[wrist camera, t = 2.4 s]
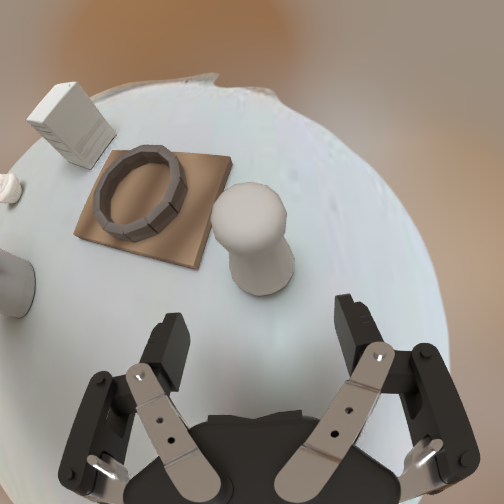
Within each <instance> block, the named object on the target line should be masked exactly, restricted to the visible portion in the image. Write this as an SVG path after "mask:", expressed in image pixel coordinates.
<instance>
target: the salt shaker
mask: <svg viewBox="0 0 504 504" xmlns="http://www.w3.org/2000/svg"><path fill="white" fill-rule="evenodd" d="M286 218H287V212H286V210H285V207H284V205H283V203H282V201H281V199H280V197H279V195H278V194H277V193H276V192H274V191H273V190H272V189H271V188H269V187H268V186H267V185H263V184H259V183H254V182H247V183H240V184H235V185H234V186H232V187H230V188H229V189H227V190H225V191H224V192H222V194H221V195H220V196H219V198H218V199H217V200H216V202H215V203H214V204H213V208H212V214H211V219H210V220H211V225H212V228H213V231H214V235H215V238H216V240H217V241H218V242H219V243H220V244H221V245H222V246H223V247H224V248H225V249H226V250H227V251H228V252H229V268H230V271H231V274H232V278H233V281H234V282H235V283H236V284H237V285H238V286H239V287H240V288H241V289H243V290H244V291H246V292H248V293H251V294H254V295H257V296H261V295H267V294H273V293H275V292H276V291H278V290H280V289H281V288H283V287H284V286H286V284H287V283H288V281H289V279H290V277H291V276H292V274H293V270H294V256H293V254H292V251H291V249H290V247H289V245H288V243H287V241H286V240H285V238H284V236H283V235H284V234H285V229H286Z"/></svg>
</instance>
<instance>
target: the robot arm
mask: <svg viewBox="0 0 504 504" xmlns="http://www.w3.org/2000/svg"><path fill="white" fill-rule="evenodd" d="M34 289H35V277H34V271H33V268H32V266H31V264H30V263H29V262H28V261H26V260H24V259H21V258H19V257H17V256H15V255H12V254H10V253H8V252H6V251H4V250H2V249H0V314H3V315H7V316H12V317H16V318H21V317H23V316H24V315H25V314H26V313H27V312H28V310H29V308H30V306H31V303H32V300H33V296H34ZM334 324H335V330H336V333H337V336H338V339H339V342H340V346H341V349H342V352H343V355H344V359H345V362H346V366H347V369H348V372H349V376H350V379H349V380H346V381H345V383H344V384H343V386H342V387H341V389H340V391H339V392H338V394H337V396H336V397H335V399H334V401H333V402H332V404H331V405H330V407H329V408H328V410H327V411H326V413H325V415H324V416H323V418H322V419H321V420H319V419H317V418H314V417H309V416H302V410H295V411H287V412H278V413H274V414H271V415H268V416H264V417H261V418H257V419H249V418H243V417H238V416H233V415H208V421H206V422H203V423H200V424H198V425H195V426H193V427H192V428H189V426H188V425H187V423H186V422H185V420H184V419H183V417H182V416H181V414H180V413H179V411H178V410H177V408H176V406H175V405H174V403H173V401H172V400H171V398H170V397H169V396H170V392H171V391H172V392H178V391H179V387H180V383H181V379H182V374H183V370H184V366H185V362H186V358H187V354H188V350H189V346H190V334H189V331H188V329H187V326H186V324H185V321H184V319H183V316H182V314H181V313H167V314H166V315H165V318H164V320H163V322H162V323H158V324H157V325H156V327H155V328H154V329H153V330H152V332H151V335H150V338H149V340H148V344H147V345H146V347H145V349H144V352H143V354H142V357H141V359H140V362H139V363H138V364H135V365H133V366H132V367H130V368H129V370H128V371H127V373H126V374H125V375H121V376H116V377H112V375H111V374H110V373H109V372H107V371H100V372H98V373H96V374H95V375H93V377H92V378H91V380H90V382H89V384H88V387H87V389H86V392H85V394H84V397H83V399H82V402H81V404H80V407H79V410H78V412H77V415H76V418H75V420H74V423H73V426H72V429H71V432H70V435H69V438H68V441H67V444H66V447H65V450H64V454H63V457H62V460H61V464H60V467H59V471H58V478H59V481H60V483H61V484H62V485H63V486H64V487H65V488H67V489H69V490H71V491H73V492H75V493H76V494H78V495H80V496H82V497H84V498H86V499H88V500H90V501H93V502H97V503H99V504H399V503H401V502H404V501H407V500H410V499H413V498H416V497H419V496H421V495H424V494H429V495H434V494H437V493H440V492H442V491H443V490H445V489H447V488H449V487H451V486H453V485H455V484H456V483H458V482H460V481H461V480H463V479H465V478H466V477H468V476H470V475H471V474H472V473H474V472H475V470H476V469H477V467H478V466H479V462H480V453H479V449H478V446H477V443H476V440H475V437H474V434H473V431H472V428H471V425H470V422H469V420H468V417H467V414H466V412H465V409H464V407H463V404H462V402H461V399H460V397H459V394H458V392H457V390H456V387H455V385H454V383H453V381H452V378H451V376H450V374H449V372H448V370H447V367H446V365H445V363H444V361H443V359H442V357H441V355H440V353H439V351H438V349H437V348H436V347H435V346H433V345H432V344H429V343H420V344H418V345H416V346H415V347H414V348H413V350H412V351H397V350H394V349H393V347H392V346H391V345H389V344H387V343H385V342H384V341H383V338H382V336H381V334H380V332H379V330H378V328H377V326H376V324H375V322H374V320H373V317H372V316H371V313H370V311H369V309H368V307H367V306H365V305H364V304H363V303H362V302H355V303H354V301H353V299H352V297H351V295H350V294H343V295H337V296H335V309H334ZM381 393H387V394H399V396H400V399H401V403H402V406H403V410H404V413H405V417H406V420H407V424H408V428H409V432H410V436H411V440H412V444H413V448H412V450H411V451H410V452H409V453H408V454H407V455H406V457H405V460H404V470H403V473H402V475H401V476H400V477H397V476H396V475H395V474H394V473H393V472H392V471H391V470H389V469H388V468H386V467H385V466H383V465H382V464H380V463H379V462H378V461H376V460H375V459H373V458H372V457H371V456H369V455H368V454H366V453H365V452H364V451H362V450H361V449H360V448H358V447H357V446H355V444H356V443H357V441H358V439H359V437H360V436H361V434H362V432H363V430H364V428H365V426H366V424H367V422H368V420H369V418H370V416H371V414H372V412H373V410H374V408H375V406H376V404H377V402H378V399H379V397H380V395H381ZM109 409H110V410H109ZM108 412H109V413H108ZM135 413H138V415H139V417H140V419H141V421H142V423H143V425H144V427H145V430H146V432H147V434H148V436H149V438H150V439H151V441H152V443H153V445H154V447H155V449H156V451H157V453H158V454H159V456H158V457H157V458H156V459H155V460H154V461H152V462H151V463H150V464H149V465H148V466H146V467H145V468H144V469H143V470H142V471H140V472H139V473H138V474H137V475H135V476H134V477H133V478H132V479H131V480H130V479H129V477H128V471H127V469H126V467H125V466H124V461H125V456H126V452H127V447H128V442H129V438H130V433H131V429H132V425H133V421H134V417H135ZM107 415H108V416H107ZM106 418H107V419H106Z"/></svg>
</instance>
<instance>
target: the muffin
mask: <svg viewBox="0 0 504 504" xmlns="http://www.w3.org/2000/svg"><path fill="white" fill-rule="evenodd" d="M21 193H22V188H21V185H20V183H19V180H18V178H17V177H16V175H15V174H14V173H10V174H5V175H4V174H0V203H5V204H6V203H16V202H17V201H18V200H19V198H20V196H21Z"/></svg>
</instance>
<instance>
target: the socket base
mask: <svg viewBox="0 0 504 504" xmlns="http://www.w3.org/2000/svg"><path fill="white" fill-rule="evenodd" d="M231 167H232V161H231V158H230V157H229V156H219V155H209V154H197V153H183V152H171V151H169V150H168V149H167V148H166V147H164V146H162V145H143V146H142V145H141V146H139V147H136V148H134V149H132V150H112V152H111V153H110V155H109V157H108V159H107V161H106V163H105V164H104V166H103V168H102V170H101V172H100V174H99V176H98V178H97V180H96V182H95V184H94V186H93V189H92V191H91V193H90V195H89V197H88V199H87V202H86V204H85V206H84V209H83V211H82V213H81V216H80V218H79V221H78V223H77V226H76V228H75V231H74V233H73V235H75V236H77V237H79V238H81V239H84V240H88V241H91V242H95V243H98V244H102V245H105V246H109V247H113V248H116V249H120V250H123V251H127V252H131V253H135V254H138V255H142V256H146V257H150V258H153V259H157V260H161V261H165V262H169V263H173V264H177V265H181V266H185V267H189V268H193V269H197V270H198V268H199V265H200V261H201V258H202V255H203V251H204V248H205V245H206V242H207V239H208V235H209V232H210V229H211V226H212V225H211V220H210V219H211V214H212V208H213V204H214V203H215V202H216V200H217V199H218V198H219V196H220V195H221V194H222V192H223V190H224V187H225V184H226V181H227V178H228V175H229V173H230V170H231Z"/></svg>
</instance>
